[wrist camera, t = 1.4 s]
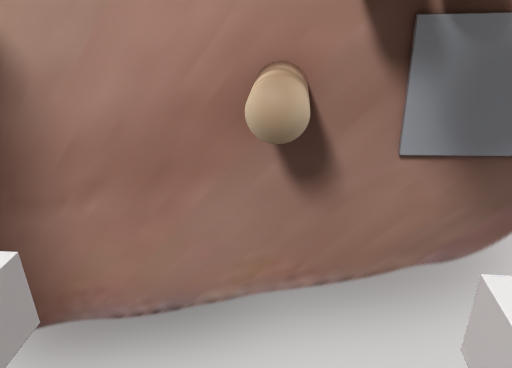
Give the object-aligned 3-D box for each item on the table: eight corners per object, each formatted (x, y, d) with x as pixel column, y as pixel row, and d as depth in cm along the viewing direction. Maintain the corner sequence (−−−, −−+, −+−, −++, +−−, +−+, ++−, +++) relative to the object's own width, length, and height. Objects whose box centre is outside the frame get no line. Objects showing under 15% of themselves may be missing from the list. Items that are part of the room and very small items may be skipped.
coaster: (398, 152, 36) (399, 154, 36) (416, 14, 31) (418, 14, 31) (533, 153, 35) (537, 156, 35) (573, 10, 30) (578, 11, 30)
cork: (255, 114, 36) (246, 143, 30) (253, 61, 34) (243, 80, 28) (307, 114, 36) (309, 144, 29) (308, 61, 34) (311, 80, 27)
